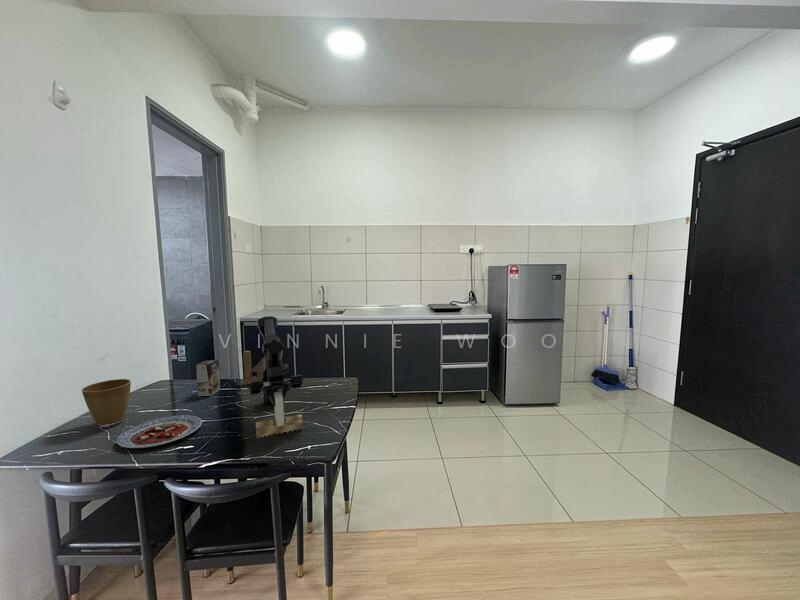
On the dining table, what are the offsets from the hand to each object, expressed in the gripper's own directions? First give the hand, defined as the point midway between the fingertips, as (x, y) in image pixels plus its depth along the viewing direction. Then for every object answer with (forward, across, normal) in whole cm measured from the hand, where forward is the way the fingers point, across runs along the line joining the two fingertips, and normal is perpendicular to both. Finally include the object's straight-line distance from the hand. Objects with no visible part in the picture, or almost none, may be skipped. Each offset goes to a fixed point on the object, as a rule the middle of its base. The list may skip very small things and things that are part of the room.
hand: (279, 405), depth 126 cm
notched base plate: (+7, 0, +8) cm, 11 cm away
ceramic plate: (-6, -40, +22) cm, 46 cm away
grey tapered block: (+4, 0, +6) cm, 7 cm away
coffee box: (-35, -27, +51) cm, 68 cm away
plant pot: (-20, -60, +36) cm, 73 cm away
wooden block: (-40, -6, +56) cm, 69 cm away
